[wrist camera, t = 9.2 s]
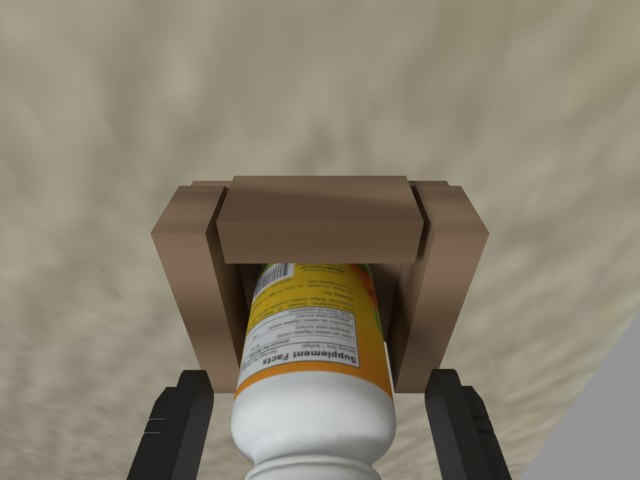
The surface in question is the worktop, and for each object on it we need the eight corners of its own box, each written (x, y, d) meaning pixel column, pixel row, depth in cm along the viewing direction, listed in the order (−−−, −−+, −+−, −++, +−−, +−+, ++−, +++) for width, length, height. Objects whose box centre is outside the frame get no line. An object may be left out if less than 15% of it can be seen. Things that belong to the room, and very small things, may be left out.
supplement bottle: (362, 318, 19) (391, 566, 11) (259, 312, 19) (217, 563, 11) (382, 239, 15) (443, 514, 8) (257, 230, 15) (194, 508, 8)
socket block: (414, 340, 21) (428, 397, 18) (225, 340, 21) (211, 397, 18) (460, 170, 14) (493, 222, 11) (179, 170, 14) (146, 222, 11)
